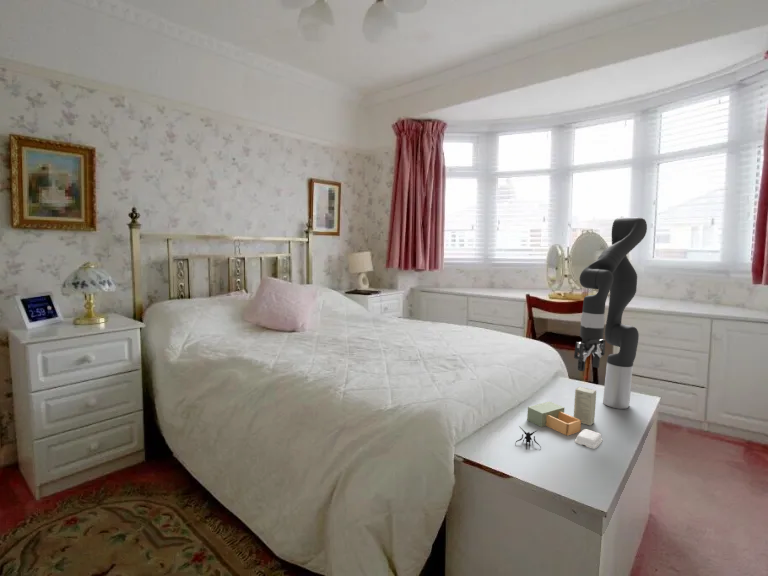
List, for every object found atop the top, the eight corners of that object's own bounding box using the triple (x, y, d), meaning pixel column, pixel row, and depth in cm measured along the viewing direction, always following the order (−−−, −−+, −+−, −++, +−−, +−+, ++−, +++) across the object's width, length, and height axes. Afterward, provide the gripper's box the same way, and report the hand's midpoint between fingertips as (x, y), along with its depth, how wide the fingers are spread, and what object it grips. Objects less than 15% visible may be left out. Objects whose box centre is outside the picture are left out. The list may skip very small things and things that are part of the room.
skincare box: (594, 422, 155) (597, 390, 153) (590, 426, 152) (593, 393, 150) (576, 417, 159) (579, 385, 158) (572, 420, 156) (575, 388, 154)
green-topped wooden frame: (548, 413, 161) (549, 401, 161) (584, 429, 148) (585, 416, 148) (527, 420, 155) (528, 407, 154) (562, 437, 142) (563, 423, 142)
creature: (540, 456, 131) (540, 440, 139) (542, 442, 130) (542, 426, 137) (514, 451, 134) (515, 436, 141) (515, 437, 132) (516, 422, 139)
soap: (595, 450, 135) (596, 442, 134) (573, 443, 139) (573, 434, 139) (603, 441, 141) (604, 432, 141) (582, 434, 146) (582, 426, 145)
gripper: (594, 321, 158) (590, 363, 160) (570, 324, 151) (566, 368, 153) (614, 325, 151) (610, 369, 153) (589, 328, 144) (585, 374, 146)
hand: (588, 368), depth 153 cm, fingers open, 8 cm apart
